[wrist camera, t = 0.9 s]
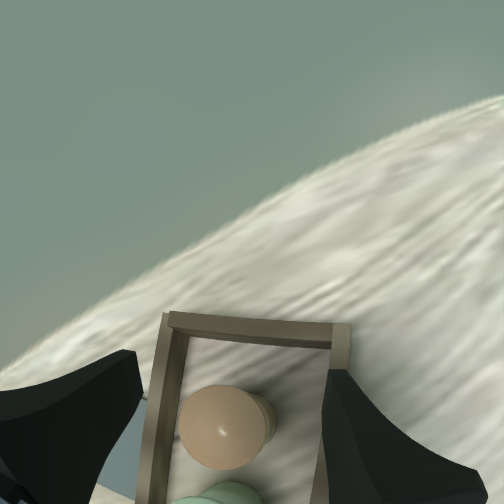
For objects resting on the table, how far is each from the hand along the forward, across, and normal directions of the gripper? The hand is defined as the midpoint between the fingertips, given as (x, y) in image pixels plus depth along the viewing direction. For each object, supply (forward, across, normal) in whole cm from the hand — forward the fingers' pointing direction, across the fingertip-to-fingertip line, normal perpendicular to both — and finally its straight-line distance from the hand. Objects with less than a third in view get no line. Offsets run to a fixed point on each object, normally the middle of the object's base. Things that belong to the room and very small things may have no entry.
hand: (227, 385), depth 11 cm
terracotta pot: (+9, +1, +11) cm, 14 cm away
